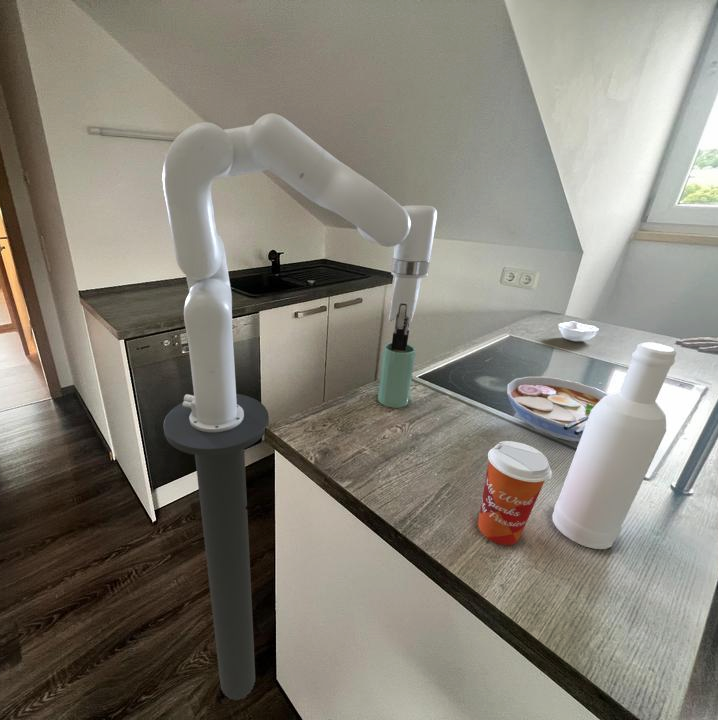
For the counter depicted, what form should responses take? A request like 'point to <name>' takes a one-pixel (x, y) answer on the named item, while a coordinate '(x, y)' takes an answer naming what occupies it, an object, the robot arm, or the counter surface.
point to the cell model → (577, 331)
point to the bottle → (615, 452)
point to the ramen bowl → (554, 404)
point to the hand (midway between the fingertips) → (399, 347)
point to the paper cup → (511, 490)
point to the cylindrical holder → (396, 376)
